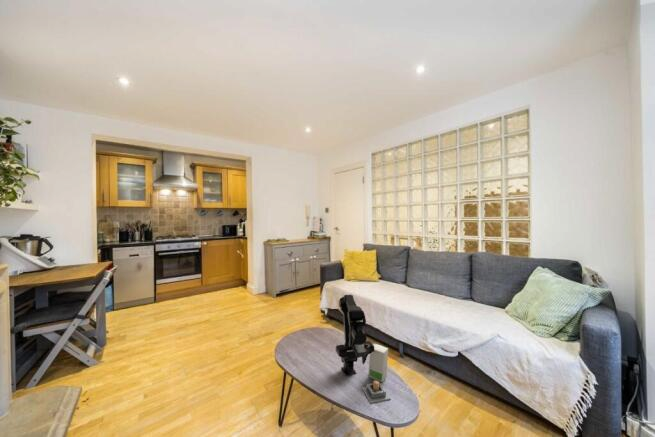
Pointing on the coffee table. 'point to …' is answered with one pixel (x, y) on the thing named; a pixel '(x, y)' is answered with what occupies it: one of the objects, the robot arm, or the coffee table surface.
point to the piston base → (375, 388)
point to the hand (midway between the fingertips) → (354, 365)
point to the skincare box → (378, 363)
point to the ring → (376, 394)
